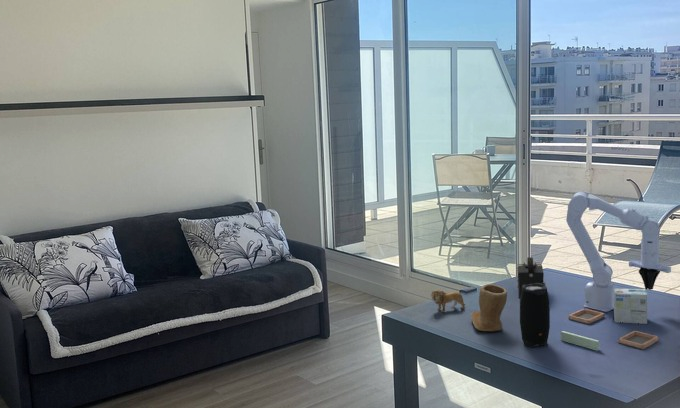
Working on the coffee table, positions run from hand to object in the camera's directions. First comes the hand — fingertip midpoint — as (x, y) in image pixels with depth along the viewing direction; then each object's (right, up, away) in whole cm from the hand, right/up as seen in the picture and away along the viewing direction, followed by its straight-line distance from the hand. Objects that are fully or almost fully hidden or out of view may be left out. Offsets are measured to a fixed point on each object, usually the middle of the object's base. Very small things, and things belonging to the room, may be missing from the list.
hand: (649, 288), depth 246 cm
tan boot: (-58, -13, -4) cm, 60 cm away
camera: (-34, -6, +29) cm, 45 cm away
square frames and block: (-23, -13, -17) cm, 32 cm away
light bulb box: (-10, -11, -6) cm, 16 cm away
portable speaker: (-48, -15, -22) cm, 55 cm away
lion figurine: (-70, -10, +15) cm, 72 cm away
